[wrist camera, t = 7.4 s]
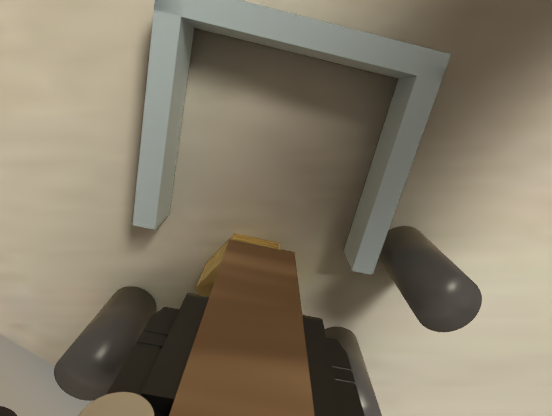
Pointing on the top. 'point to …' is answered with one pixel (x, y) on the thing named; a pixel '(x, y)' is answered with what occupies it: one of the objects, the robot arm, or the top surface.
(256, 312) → the wooden block stand
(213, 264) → the yellow wooden hexagonal block
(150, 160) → the grey u-shaped bracket
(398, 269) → the spacers
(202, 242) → the top surface
